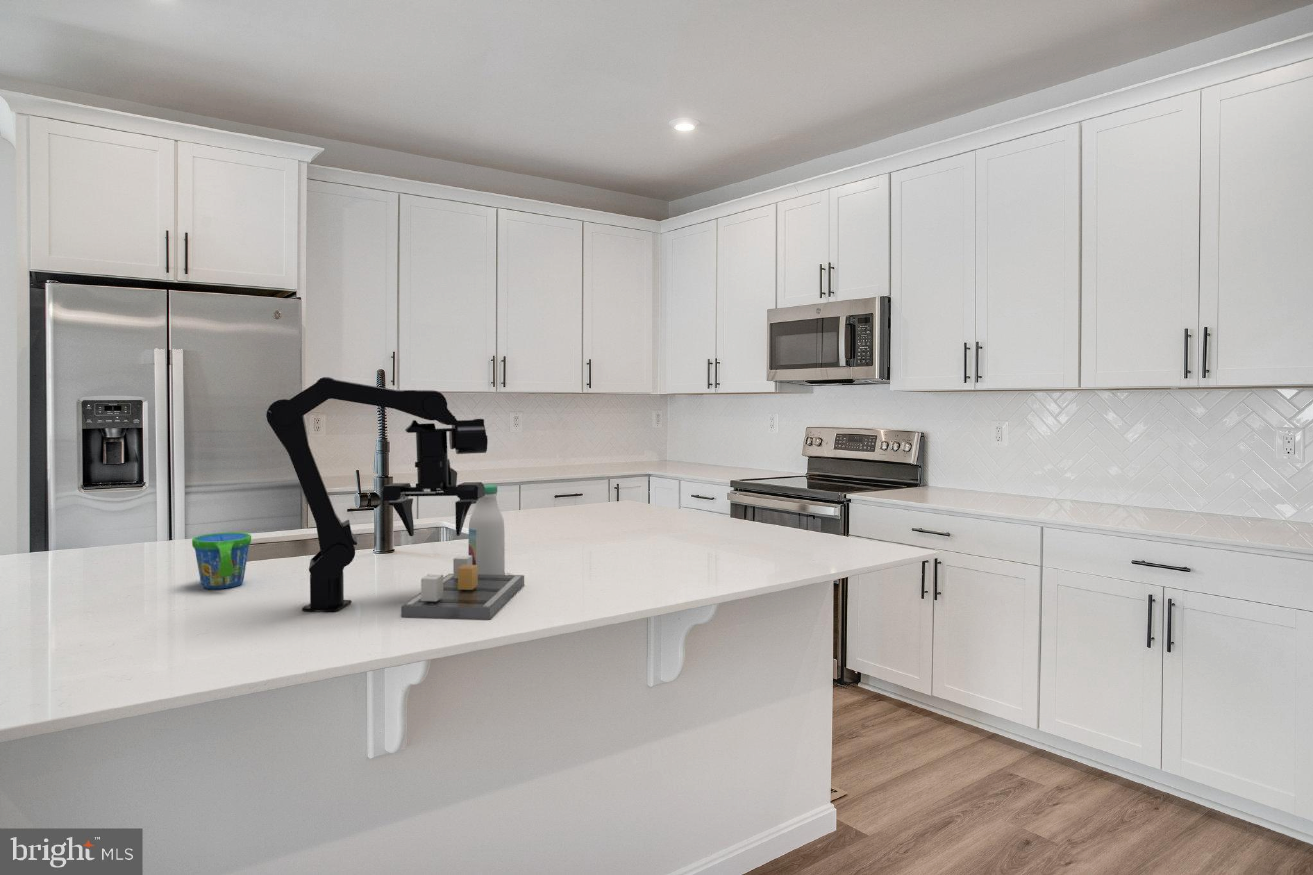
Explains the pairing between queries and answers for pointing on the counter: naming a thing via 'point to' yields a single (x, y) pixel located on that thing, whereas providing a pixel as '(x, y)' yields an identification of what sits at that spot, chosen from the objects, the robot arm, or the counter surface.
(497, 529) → the milk bottle
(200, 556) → the snack cup
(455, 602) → the panel
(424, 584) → the grey small block
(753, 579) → the counter surface
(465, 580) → the orange block
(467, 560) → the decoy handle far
